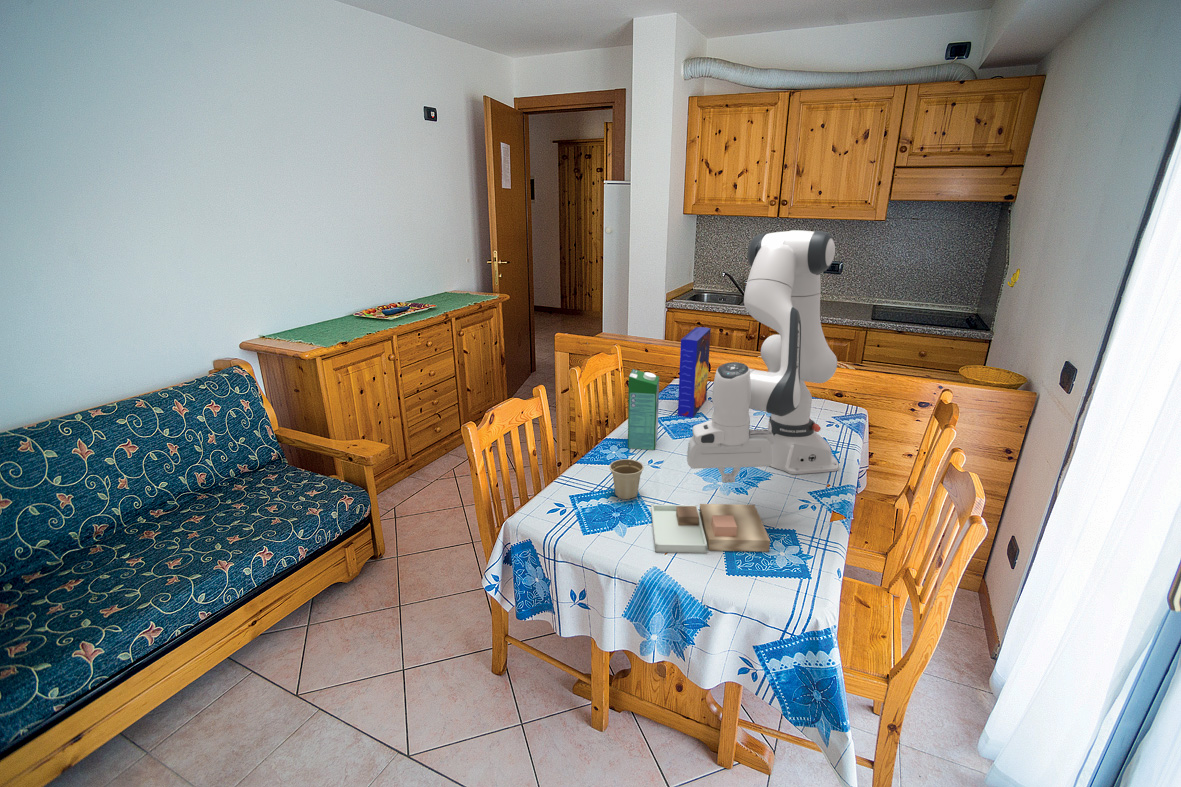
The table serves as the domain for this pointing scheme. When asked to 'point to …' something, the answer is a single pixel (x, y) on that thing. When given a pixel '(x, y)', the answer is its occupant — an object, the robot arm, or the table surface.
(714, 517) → the terracotta tile
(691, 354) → the cereal box
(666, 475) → the table surface
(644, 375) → the milk carton
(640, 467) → the flower pot
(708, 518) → the board
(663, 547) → the tray
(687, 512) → the walnut tile
